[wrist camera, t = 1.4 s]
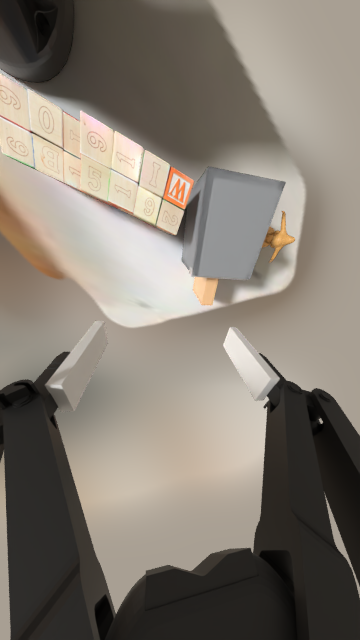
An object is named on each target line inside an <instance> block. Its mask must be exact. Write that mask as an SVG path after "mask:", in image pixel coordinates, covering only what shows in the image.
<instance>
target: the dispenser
mask: <svg viewBox="0 0 360 640" xmlns="http://www.w3.org/2000/svg"><path fill="white" fill-rule="evenodd" d="M285 183H286V182H283V181H278V180H273V179H268V178H263V177H258V176H253V175H248V174H243V173H239V172H234V171H229V170H224V169H219V168H214V167H209V166H208V168H207V169H206V171H205V172H204V173H203V175H202V176H201V177H200V179H199V180H198V181H197V183H196V184H195V185H194V187H193V188H192V190H191V193H190V196H189V199H188V202H187V210H186V220H185V231H184V241H183V252H182V262H183V263H184V265H185V266H186V267H187V269H188V270H189V274H190V275H191V277H204V278H220V279H235V280H247V279H250V278H251V275H252V272H253V270H254V267H255V264H256V261H257V259H258V256H259V253H260V251H261V248H262V245H263V242H264V240H265V237H266V234H267V232H268V229H269V226H270V223H271V221H272V218H273V215H274V213H275V210H276V207H277V204H278V202H279V199H280V196H281V194H282V191H283V188H284V185H285Z"/></svg>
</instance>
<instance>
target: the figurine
mask: <svg viewBox="0 0 360 640" xmlns="http://www.w3.org/2000/svg"><path fill="white" fill-rule="evenodd" d="M282 213H283V214H282V222H281V231H274V229H273V228H271V227H269V229H268V232H267V234H266V237H265V240H264V242H263V245H262V248H263V247H266V246H268V245H270V246H271V247H272V248H274V247H275V252H274V254H273V256H272V258H271V260H270V262H272V261H273V260H274V258H275V257H276V255H277V254H278V252H279V251H280V249H281V248H282V247H283V246H285V245H287V244H290V243H292V242H294V241H295V238H294V237H291V236H289V235H287V233H286V228H285V226H286V221H285V212H284V211H282Z"/></svg>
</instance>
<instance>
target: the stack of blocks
mask: <svg viewBox="0 0 360 640" xmlns="http://www.w3.org/2000/svg"><path fill="white" fill-rule="evenodd" d="M0 144H1V150H2V153H3V154H4V155H6V156H8V157H10V158H12V159H14V160H16V161H18V162H20V163H22V164H25V165H27V166H29V167H31V168H33V169H35V170H37V171H40V172H42V173H44V174H46V175H48V176H50V177H52V178H54V179H56V180H58V181H61V182H63V183H65V184H67V185H69V186H71V187H73V188H75V189H77V190H79V191H81V192H83V193H85V194H87V195H89V196H91V197H93V198H96V199H98V200H100V201H102V202H104V203H106V204H108V205H111V206H113V207H115V208H117V209H119V210H121V211H123V212H126V213H128V214H130V215H132V216H134V217H136V218H138V219H140V220H142V221H144V222H146V223H148V224H150V225H152V226H154V227H156V228H158V229H160V230H162V231H164V232H166V233H168V234H170V235H171V234H172V235H177V232H178V229H179V226H180V223H181V220H182V217H183V214H184V210H185V208H186V205H187V202H188V199H189V196H190V193H191V190H192V187H193V184H194V180H193V179H191V178H189V177H188V176H186V175H185V174H183V173H181V172H180V171H178V170H177V169H175V168H173V167H171V166H170V164H169V163H167V162H165V161H164V160H162V159H160V158H159V157H157V156H155V155H154V154H152V153H150V152H149V151H147V150H144V148H143V147H142V146H140V145H139V144H137V143H135V142H134V141H132V140H130V139H129V138H127V137H125V136H124V135H122V134H121V133H119V132H117V131H114V130H112V129H111V128H110V127H108V126H106V125H105V124H103V123H101V122H100V121H98V120H96V119H95V118H93V117H92V116H90V115H88V114H86V113H85V112H83V111H81V110H80V121H79V120H77V119H75V118H74V117H72V116H70V115H69V114H67V113H66V112H64V111H63V110H62V109H61V108H59V107H58V106H56V105H55V104H53V103H51V102H50V101H48V100H47V99H45V98H43V97H42V96H40V95H38V94H37V93H35V92H33V91H32V90H30V89H25V88H24V87H22V86H21V85H19V84H18V83H16V82H14V81H13V80H11V79H9V78H8V77H6V76H5V75H3V74H1V73H0Z"/></svg>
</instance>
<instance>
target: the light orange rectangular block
mask: <svg viewBox="0 0 360 640" xmlns="http://www.w3.org/2000/svg"><path fill="white" fill-rule="evenodd" d="M218 280H219V278H204V277H195V280H194V287H193V291H194V293H195V294H196V296H197V298H198V300H199V301H200V303H201V305H212V304H213V300H214V296H215V292H216V288H217V284H218Z"/></svg>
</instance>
